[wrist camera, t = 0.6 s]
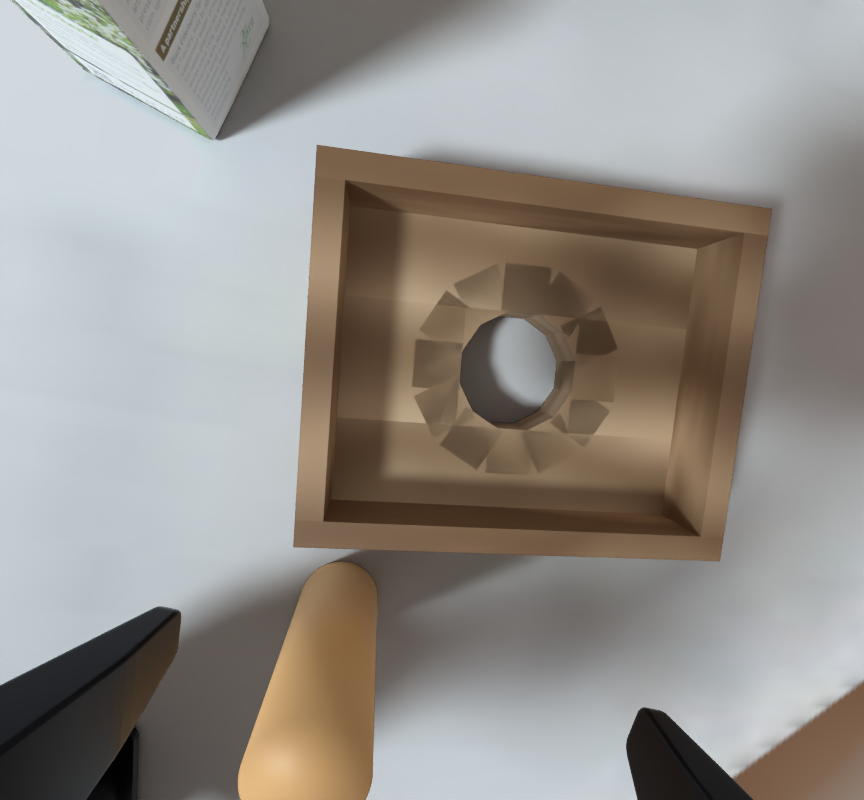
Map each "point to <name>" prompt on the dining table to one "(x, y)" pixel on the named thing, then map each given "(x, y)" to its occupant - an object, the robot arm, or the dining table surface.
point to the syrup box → (161, 49)
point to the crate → (571, 344)
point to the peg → (319, 696)
